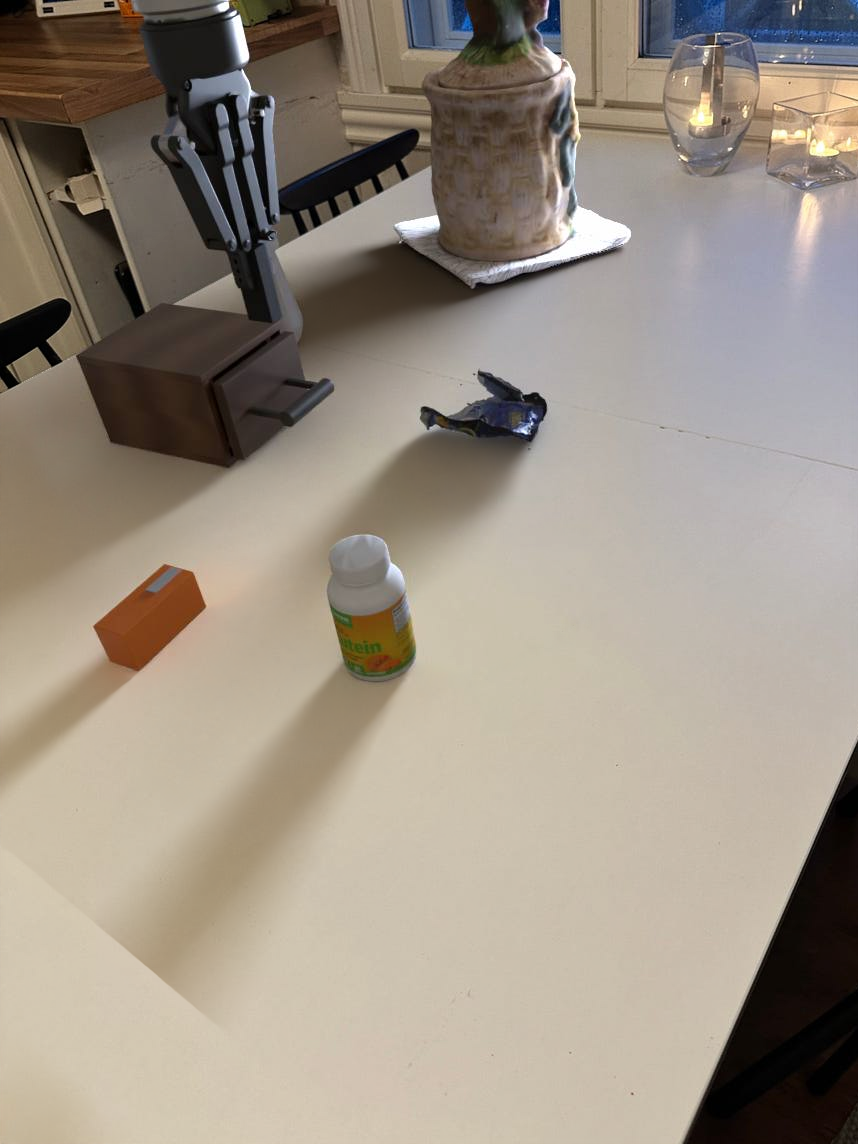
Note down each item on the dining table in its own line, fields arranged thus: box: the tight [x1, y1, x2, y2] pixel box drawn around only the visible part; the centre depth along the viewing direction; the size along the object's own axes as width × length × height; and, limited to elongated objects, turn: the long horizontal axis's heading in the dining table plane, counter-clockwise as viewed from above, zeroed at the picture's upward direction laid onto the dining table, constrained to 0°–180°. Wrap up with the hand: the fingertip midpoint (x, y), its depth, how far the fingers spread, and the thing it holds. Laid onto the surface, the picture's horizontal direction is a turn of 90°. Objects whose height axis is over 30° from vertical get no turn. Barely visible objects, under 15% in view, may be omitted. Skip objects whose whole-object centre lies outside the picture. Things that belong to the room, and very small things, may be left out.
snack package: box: [419, 369, 548, 451], centre depth 92 cm, size 12×6×12 cm
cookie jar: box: [393, 0, 631, 289], centre depth 120 cm, size 25×25×32 cm
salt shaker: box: [267, 227, 304, 343], centre depth 109 cm, size 6×6×13 cm
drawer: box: [208, 331, 335, 461], centre depth 94 cm, size 20×11×8 cm, turn 63°
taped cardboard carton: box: [92, 563, 207, 672], centre depth 73 cm, size 3×8×4 cm, turn 153°
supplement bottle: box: [326, 534, 418, 682], centre depth 67 cm, size 5×5×10 cm
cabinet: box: [75, 302, 284, 469], centre depth 96 cm, size 16×13×10 cm
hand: (265, 318), depth 87 cm, fingers closed
